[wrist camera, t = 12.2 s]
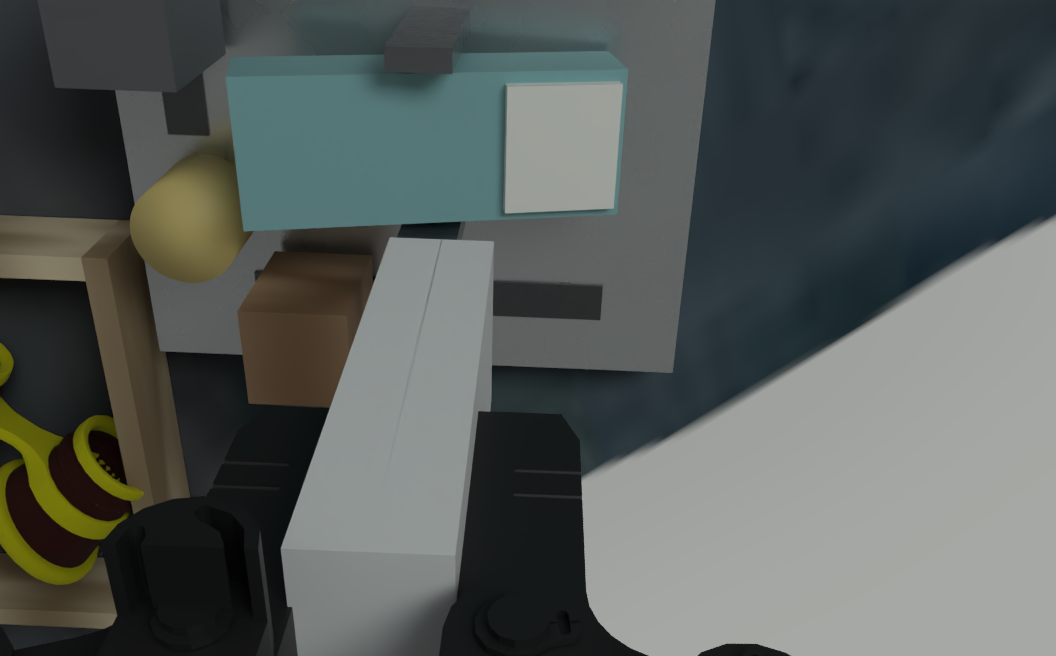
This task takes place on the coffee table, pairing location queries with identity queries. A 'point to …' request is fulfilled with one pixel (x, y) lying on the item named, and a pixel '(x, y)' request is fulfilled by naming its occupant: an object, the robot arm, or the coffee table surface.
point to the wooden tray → (132, 385)
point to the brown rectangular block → (302, 325)
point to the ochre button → (191, 220)
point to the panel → (519, 244)
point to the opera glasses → (59, 492)
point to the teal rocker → (425, 139)
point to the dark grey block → (131, 42)
